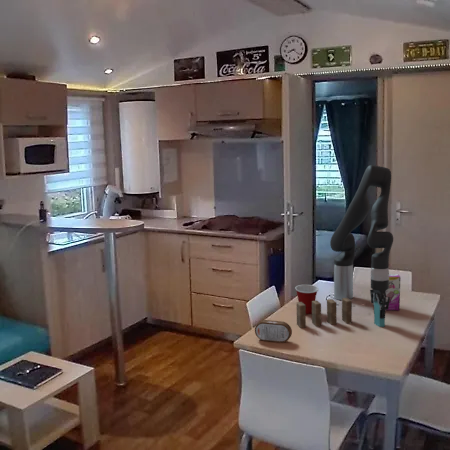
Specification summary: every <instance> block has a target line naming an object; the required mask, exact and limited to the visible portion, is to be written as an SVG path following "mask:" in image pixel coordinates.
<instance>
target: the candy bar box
mask: <svg viewBox="0 0 450 450" xmlns="http://www.w3.org/2000/svg"><path fill="white" fill-rule="evenodd" d="M386 296H387V297H389V298H390V300H389V307H388V310H387V311H400V309H401V308H400V307H401V306H400V305H401V303H400V302H401V275H400V274H398V273H397V274H395V273H394V274H393V273H392V274H391V273H389V289H388V290H386Z"/></svg>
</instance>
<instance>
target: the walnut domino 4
mask: <svg viewBox="0 0 450 450" xmlns="http://www.w3.org/2000/svg"><path fill="white" fill-rule="evenodd" d="M352 302H353V301H352V299H348V298H342V300H341V321H343V322H344V323H345V324H352V321H353V319H352V318H353V317H352V316H353V314H352V311H353V308H352V307H353V304H352Z"/></svg>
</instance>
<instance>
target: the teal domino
mask: <svg viewBox="0 0 450 450" xmlns="http://www.w3.org/2000/svg"><path fill="white" fill-rule="evenodd" d="M380 303H382V302H380ZM381 306H382V305H381ZM373 316H374V317H373V319H374V320H373V321H374V322H373V323H374V325H376V326H377V327H379V328H384V327H385V324H386V322H385V321H386V317H385V318H383V319H381V318H380V305H378V301H375V302H374V306H373Z"/></svg>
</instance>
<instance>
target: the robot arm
mask: <svg viewBox="0 0 450 450" xmlns="http://www.w3.org/2000/svg"><path fill="white" fill-rule="evenodd" d="M391 183H392V171H391V170H390V169H389V168H388V167H384V166H379V165H376V164H375V165H374V164H370V165H368V166H367V167H366V169H365V170H364V173H363V175H362V178H361V181H360V182H359V185H358V188H357V190H356V192H355V194H354V196H353V198H352V200H351V202H350V203H349V205H348V207H347V210H346V212H345V214H344V216H343V218H342V219H341V221H340V223H339V224H338V226H337V228H335V229H336V230H334V232H333V234H332V236H331V237H330V241H329V242H330V248H331V250H332V251H333V252H338V253H340V254H339V255H337V256H336V257H335V258H334V259H333V272H334V273H333V284H334V285H333V288H334V289H333V297H334V299H335V300H339V301H342V298H348V299H350V300H352V299H353V298H354V260H355V255H356V254H355V252H356V251H355V250H356V238H355V237H354V234H353V233H352V232H353V231H354V230H355V229H357V228H358V227H359V226H360V225H361V224H362V223H364V221H365V220H366V217H367V216H368V214H369V211H370V220H371V221H370V229H369V232H368V235H367V238H366V242H367V245H368V247H369V248H370V249H383V250H382V251H380V252H375V253H372V255H371V262H370V263H371V265H370V266H371V268H370V289H369V294H370V301H371V304H372V305H373V307H374V302H375V301H378V305H380V318H381V319H383V318H385V319H386V311H389V310H388V307H389V300H390V298H389V297H387V296H386V290H388V289H389V274H390V269H389V265H390V264H389V259H390V258H389V257H390V253H391V250H392V246H393V244H394V235H393V233H392V232H391V231H381V230H384V229H387V228H388V226H389V211H388V210H389V201H390V200H389V199H390V192H391V185H392V184H391ZM370 187H375V188H380V190H381V191H380V194H379V196H378V197H377V199H376V200H375V201H374V203H373V205H372V207H371V204H370V201H369V197H368V196H369V195H368V190H369V188H370ZM370 209H371V210H370ZM380 302H382V303H380ZM381 305H382V306H381Z"/></svg>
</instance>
